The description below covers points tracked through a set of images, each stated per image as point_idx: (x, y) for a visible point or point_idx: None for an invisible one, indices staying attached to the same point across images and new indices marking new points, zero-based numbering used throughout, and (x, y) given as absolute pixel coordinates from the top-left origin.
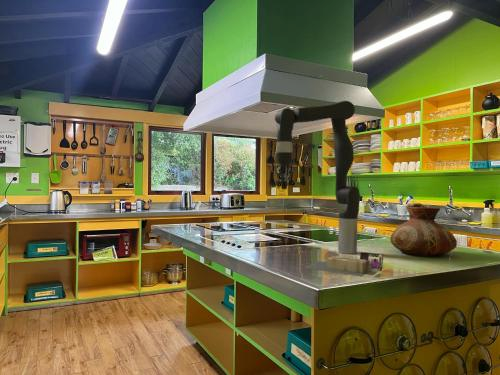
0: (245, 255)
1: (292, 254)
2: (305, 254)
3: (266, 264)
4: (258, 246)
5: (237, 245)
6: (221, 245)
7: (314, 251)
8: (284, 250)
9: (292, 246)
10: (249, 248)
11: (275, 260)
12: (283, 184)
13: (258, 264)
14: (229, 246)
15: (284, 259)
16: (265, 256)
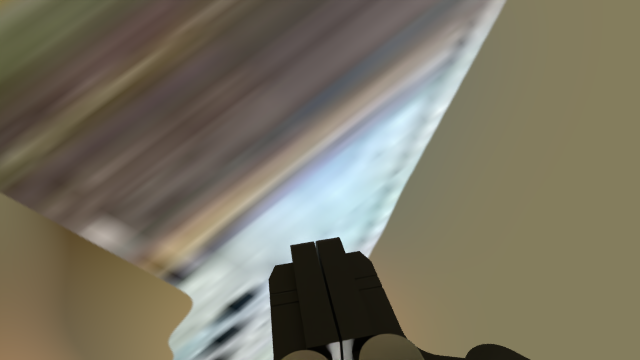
0: (358, 183)
1: (199, 68)
2: (144, 20)
3: (450, 19)
4: (175, 271)
5: (226, 321)
6: (269, 344)
7: (29, 32)
8: (151, 152)
9: (32, 191)
10: (238, 262)
11: (364, 41)
12: (384, 297)
13: (466, 43)
14: (263, 321)
15: (321, 25)
16: (323, 122)
